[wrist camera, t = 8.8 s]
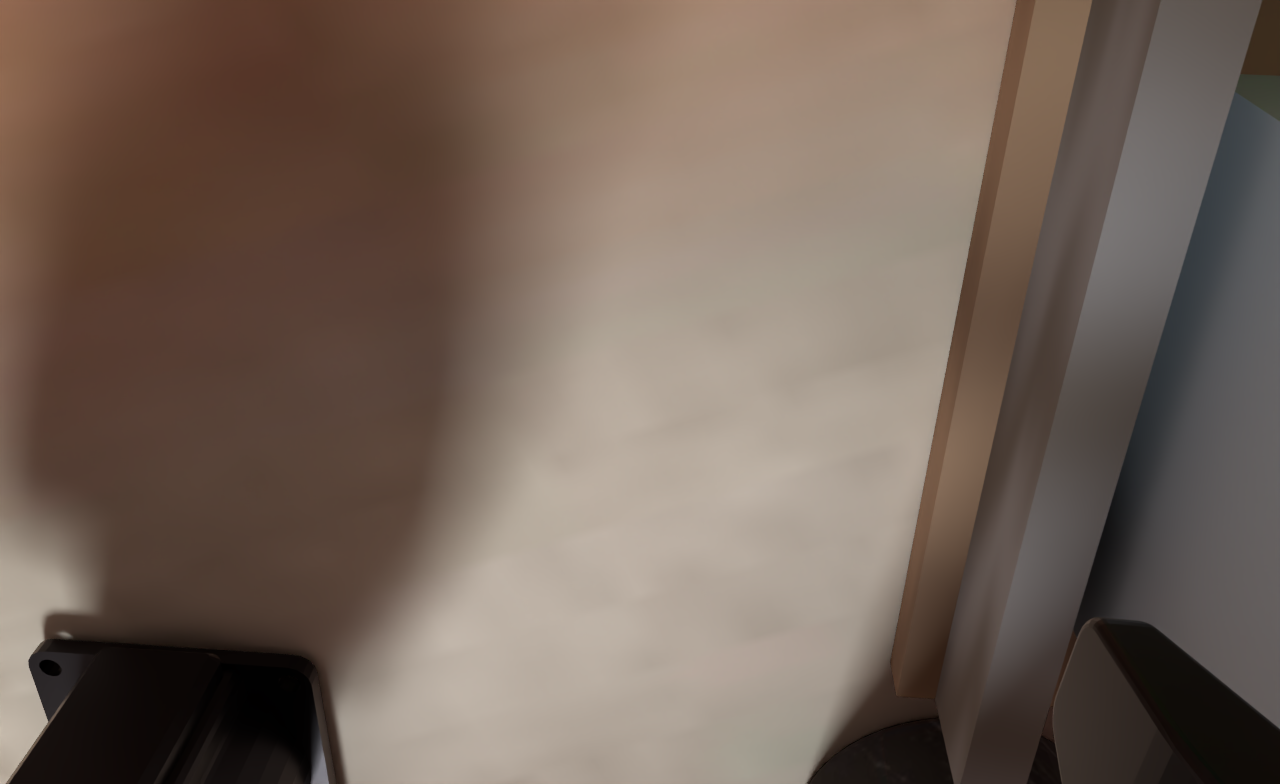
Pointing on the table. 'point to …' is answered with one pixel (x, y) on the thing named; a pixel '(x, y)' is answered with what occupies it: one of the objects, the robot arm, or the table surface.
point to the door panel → (1212, 433)
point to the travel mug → (915, 759)
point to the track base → (1058, 345)
